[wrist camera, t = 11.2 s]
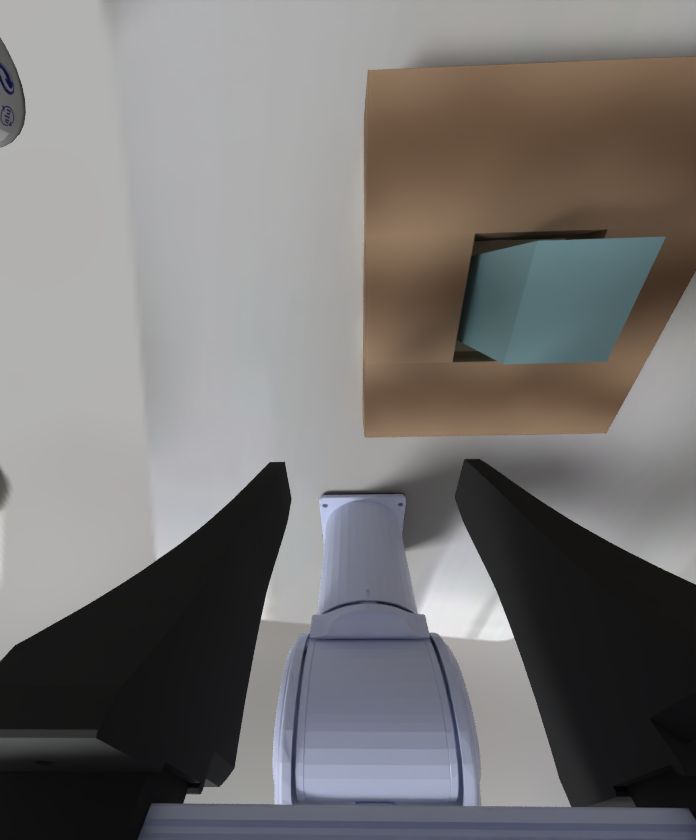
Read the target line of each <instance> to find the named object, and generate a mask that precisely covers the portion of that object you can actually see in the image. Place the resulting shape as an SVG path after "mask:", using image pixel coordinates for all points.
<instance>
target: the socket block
mask: <svg viewBox="0 0 696 840" xmlns="http://www.w3.org/2000/svg"><path fill="white" fill-rule="evenodd" d="M639 237H666V238H665V240H664V242H663V244H662V246H661V248H660V250H659V252H658V255H657V257H656V259H655V261H654V263H653V265H652V267H651V269H650V271H649V274H648V276H647V278H646V280H645V282H644V284H643V286H642V288H641V290H640V293H639V295H638V297H637V299H636V301H635V303H634V305H633V307H632V310H631V312H630V314H629V316H628V318H627V320H626V322H625V324H624V326H623V329H622V331H621V333H620V335H619V337H618V339H617V341H616V343H615V345H614V348H613V350H612V352H611V354H610V356H609V358H608V360H607V362H581V363H538V364H502V363H500V362H498V361H496V360H494V359H492V358H491V357H489V356H487V355H485V354H483V353H481V352H479V351H477V350H475V349H473V348H471V347H469V346H467V345H466V344H464V343H462V342H460V341H458V340H456V339H457V333H458V328H459V322H460V316H461V311H462V305H463V299H464V294H465V288H466V282H467V277H468V271H469V265H470V260H471V256H474V255H479V254H483V253H487V252H491V251H496V250H500V249H504V248H509V247H513V246H517V245H522V244H526V243H530V242H535V241H546V240H577V239H608V238H639ZM695 271H696V56H689V57H665V58H642V59H618V60H595V61H571V62H548V63H524V64H501V65H477V66H454V67H430V68H407V69H383V70H368V75H367V87H366V99H365V111H364V217H363V425H364V436H365V437H413V436H473V435H532V434H592V433H607V431H608V429H609V428H610V426H611V424H612V422H613V420H614V418H615V417H616V415H617V413H618V411H619V409H620V407H621V406H622V404H623V402H624V400H625V398H626V397H627V395H628V393H629V391H630V389H631V387H632V386H633V384H634V382H635V380H636V378H637V377H638V375H639V373H640V371H641V369H642V367H643V366H644V364H645V362H646V360H647V358H648V357H649V355H650V353H651V351H652V349H653V347H654V346H655V344H656V342H657V340H658V338H659V336H660V335H661V333H662V331H663V329H664V327H665V326H666V324H667V322H668V320H669V318H670V316H671V315H672V313H673V311H674V309H675V307H676V306H677V304H678V302H679V300H680V298H681V296H682V295H683V293H684V291H685V289H686V287H687V285H688V284H689V282H690V280H691V278H692V276H693V275H694V273H695Z"/></svg>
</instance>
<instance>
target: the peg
mask: <svg viewBox="0 0 696 840" xmlns="http://www.w3.org/2000/svg"><path fill="white" fill-rule="evenodd" d="M665 238H666V237H639V238H608V239H577V240H546V241H535V242H530V243H526V244H522V245H517V246H513V247H509V248H504V249H500V250H496V251H491V252H487V253H483V254H479V255H474V256H471V260H470V265H469V271H468V277H467V282H466V288H465V294H464V299H463V305H462V311H461V316H460V322H459V328H458V333H457V339H456V340H458V341H460V342H462V343H464V344H466V345H467V346H469V347H471V348H473V349H475V350H477V351H479V352H481V353H483V354H485V355H487V356H489V357H491V358H492V359H494V360H496V361H498V362H500V363H502V364H538V363H581V362H607V360H608V358H609V356H610V354H611V352H612V350H613V348H614V345H615V343H616V341H617V339H618V337H619V335H620V333H621V331H622V329H623V326H624V324H625V322H626V320H627V318H628V316H629V314H630V312H631V310H632V307H633V305H634V303H635V301H636V299H637V297H638V295H639V293H640V290H641V288H642V286H643V284H644V282H645V280H646V278H647V276H648V274H649V271H650V269H651V267H652V265H653V263H654V261H655V259H656V257H657V255H658V252H659V250H660V248H661V246H662V244H663V242H664V240H665Z"/></svg>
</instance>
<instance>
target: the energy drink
mask: <svg viewBox="0 0 696 840" xmlns="http://www.w3.org/2000/svg"><path fill="white" fill-rule="evenodd" d="M25 113H26V112H25V98H24V93H23V88H22V84H21V81H20V79H19V76H18V72H17V70H16V67H15V65H14V63H13V61H12V59H11V57H10V54H9V52H8V51H7V49H6V47H5V45H4V43H3V42H2V40H1V38H0V147H3V146H6V145H8V144H9V143H11V142H13V141H14V140H15V138H16V137H17V136H18V135H19V134H20V132H21V130H22V128H23V125H24V120H25Z"/></svg>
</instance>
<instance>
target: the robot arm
mask: <svg viewBox="0 0 696 840" xmlns="http://www.w3.org/2000/svg"><path fill="white" fill-rule="evenodd" d="M455 499H456V502H457V505H458V508H459V511H460V514H461V517H462V520H463V522H464V524H465V526H466V528H467V531H468V533H469V535H470V537H471V539H472V541H473V543H474V545H475V547H476V549H477V551H478V553H479V555H480V557H481V559H482V561H483V563H484V565H485V567H486V569H487V571H488V573H489V575H490V577H491V580H492V582H493V584H494V586H495V588H496V591H497V593H498V596H499V598H500V601H501V603H502V606H503V608H504V611H505V614H506V616H507V619H508V621H509V624H510V627H511V630H512V632H513V635H514V638H515V641H516V643H517V646H518V649H519V652H520V655H521V657H522V660H523V663H524V666H525V669H526V672H527V675H528V678H529V681H530V684H531V687H532V690H533V693H534V696H535V699H536V702H537V705H538V709H539V712H540V715H541V718H542V722H543V725H544V728H545V731H546V734H547V738H548V741H549V744H550V748H551V751H552V754H553V758H554V761H555V765H556V768H557V772H558V775H559V779H560V781H561V783H562V786H563V788H564V790H565V793H566V795H567V797H568V800H569V802H570V805H571V807H505V806H504V807H503V806H502V807H501V806H497V807H496V806H495V807H494V806H481V797H480V777H481V767H480V765H481V764H480V752H479V744H478V738H477V732H476V726H475V722H474V717H473V712H472V708H471V704H470V700H469V696H468V692H467V689H466V685H465V682H464V679H463V676H462V673H461V670H460V668H459V665H458V663H457V660H456V658H455V656H454V654H453V652H452V651H451V649H450V648H449V647H448V645H446V643H445V642H444V641H443V639H442V638H441V637H440V636H439V634H437V633H429V631H428V627H427V622H426V618H425V615H423V614H418V612H417V607H416V602H415V598H414V593H413V588H412V583H411V578H410V573H409V568H408V564H407V559H406V554H405V549H404V544H403V539H402V531H403V522H404V514H405V506H406V497H405V496H404V495H403V494H368V495H322V496H321V497H320V500H319V503H320V513H321V522H322V531H323V540H324V551H323V562H322V572H321V582H320V592H319V602H318V612H317V615H313V616H312V621H311V630H310V633H302V634H301V635H300V636H299V637H298V639H297V641H296V642H295V643H294V644H293V645H292V647H291V649H290V651H289V654H288V657H287V660H286V664H285V667H284V672H283V676H282V682H281V687H280V693H279V699H278V706H277V713H276V721H275V731H274V743H273V778H274V783H275V794H274V797H275V798H274V804H183V802H184V799H185V796H186V794H201V792H202V790H203V787H219V786H220V785H222V784H223V782H224V781H225V780H226V779H227V778H228V776H229V775H230V774H231V772H232V771H233V769H234V767H235V761H236V754H237V748H238V742H239V735H240V729H241V723H242V717H243V710H244V705H245V699H246V693H247V688H248V682H249V677H250V671H251V666H252V660H253V655H254V650H255V645H256V640H257V635H258V630H259V624H260V620H261V615H262V611H263V606H264V601H265V597H266V592H267V589H268V585H269V581H270V578H271V574H272V571H273V568H274V565H275V561H276V558H277V555H278V552H279V548H280V545H281V542H282V539H283V535H284V532H285V529H286V525H287V521H288V516H289V511H290V505H291V494H290V489H289V483H288V477H287V472H286V466H285V462H270V463H269V464H268V465H267V466H266V467H265V468H264V469H263V470H262V471H261V472H260V473H259V474H258V475H257V476H256V477H255V478H254V479H253V480H252V481H251V482H250V483H249V484H248V485H247V486H246V487H245V488H244V489H243V490H242V491H241V492H240V493H239V494H238V495H237V496H236V497H235V498H234V499H233V500H232V501H231V502H229V503H228V504H227V505H226V506H225V507H224V508H223V509H222V510H221V511H219V512H218V513H217V514H216V515H215V516H214V517H213V518H212V519H211V520H209V521H208V522H207V523H206V524H205V525H203V526H202V527H201V528H200V529H199V530H197V531H196V532H195V533H193V534H192V535H191V536H190V537H188V538H187V539H186V540H184V541H183V542H182V543H181V544H179V545H178V546H177V547H175V548H174V549H172V550H171V551H169V552H168V553H167V554H165V555H164V556H162V557H161V558H159V559H158V560H157V561H155V562H154V563H152V564H151V565H149V566H148V567H147V568H145V569H144V570H142V571H141V572H139V573H138V574H136V575H135V576H133V577H132V578H130V579H129V580H127V581H126V582H124V583H122V584H121V585H119V586H117V587H116V588H114V589H113V590H111V591H109V592H108V593H106V594H104V595H103V596H101V597H100V598H98V599H96V600H95V601H93V602H91V603H90V604H88V605H86V606H85V607H83V608H81V609H80V610H78V611H76V612H74V613H72V614H71V615H69V616H67V617H65V618H63V619H62V620H60V621H58V622H56V623H55V624H53V625H51V626H49V627H47V628H46V629H44V630H42V631H40V632H39V633H37V634H35V635H33V636H32V637H30V638H28V639H26V640H25V641H23V642H21V643H19V644H17V645H15V646H14V647H13V648H12V649H11V650H10V651H9V652H8V654H7V655H6V656H5V657H4V658H3V659H2V660H1V661H0V840H696V585H695V584H693V583H691V582H689V581H686V580H684V579H682V578H680V577H678V576H676V575H674V574H672V573H669V572H667V571H665V570H663V569H661V568H659V567H657V566H655V565H653V564H651V563H649V562H647V561H645V560H643V559H641V558H639V557H637V556H635V555H633V554H631V553H629V552H627V551H625V550H623V549H621V548H619V547H618V546H616V545H614V544H612V543H610V542H608V541H606V540H605V539H603V538H601V537H599V536H598V535H596V534H594V533H592V532H590V531H589V530H587V529H585V528H583V527H581V526H580V525H578V524H576V523H575V522H573V521H571V520H570V519H568V518H566V517H565V516H563V515H562V514H560V513H559V512H557V511H555V510H554V509H552V508H551V507H549V506H547V505H546V504H544V503H543V502H541V501H540V500H538V499H537V498H535V497H534V496H532V495H531V494H529V493H528V492H527V491H525V490H524V489H522V488H521V487H519V486H518V485H516V484H515V483H514V482H512V481H511V480H509V479H508V478H506V477H505V476H504V475H502V474H501V473H499V472H498V471H497V470H495V469H494V468H492V467H491V466H489V465H488V464H486V463H485V462H483V461H482V460H480V459H464V462H463V466H462V470H461V474H460V478H459V482H458V486H457V490H456V494H455ZM399 503H400V504H399Z"/></svg>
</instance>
